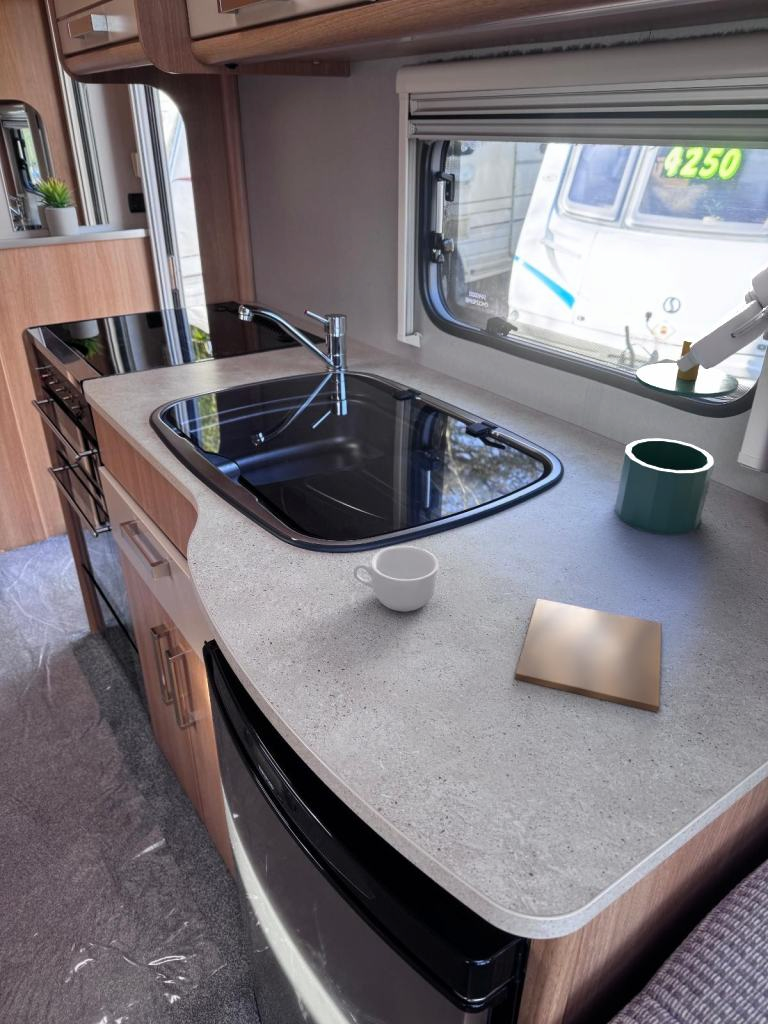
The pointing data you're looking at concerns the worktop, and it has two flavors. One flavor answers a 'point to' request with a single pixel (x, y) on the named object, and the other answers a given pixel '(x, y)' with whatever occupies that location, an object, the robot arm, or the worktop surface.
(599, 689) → the plate
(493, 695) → the worktop surface
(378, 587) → the teacup
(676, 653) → the worktop surface
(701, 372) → the tin lid
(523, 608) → the worktop surface
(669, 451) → the tea tin
